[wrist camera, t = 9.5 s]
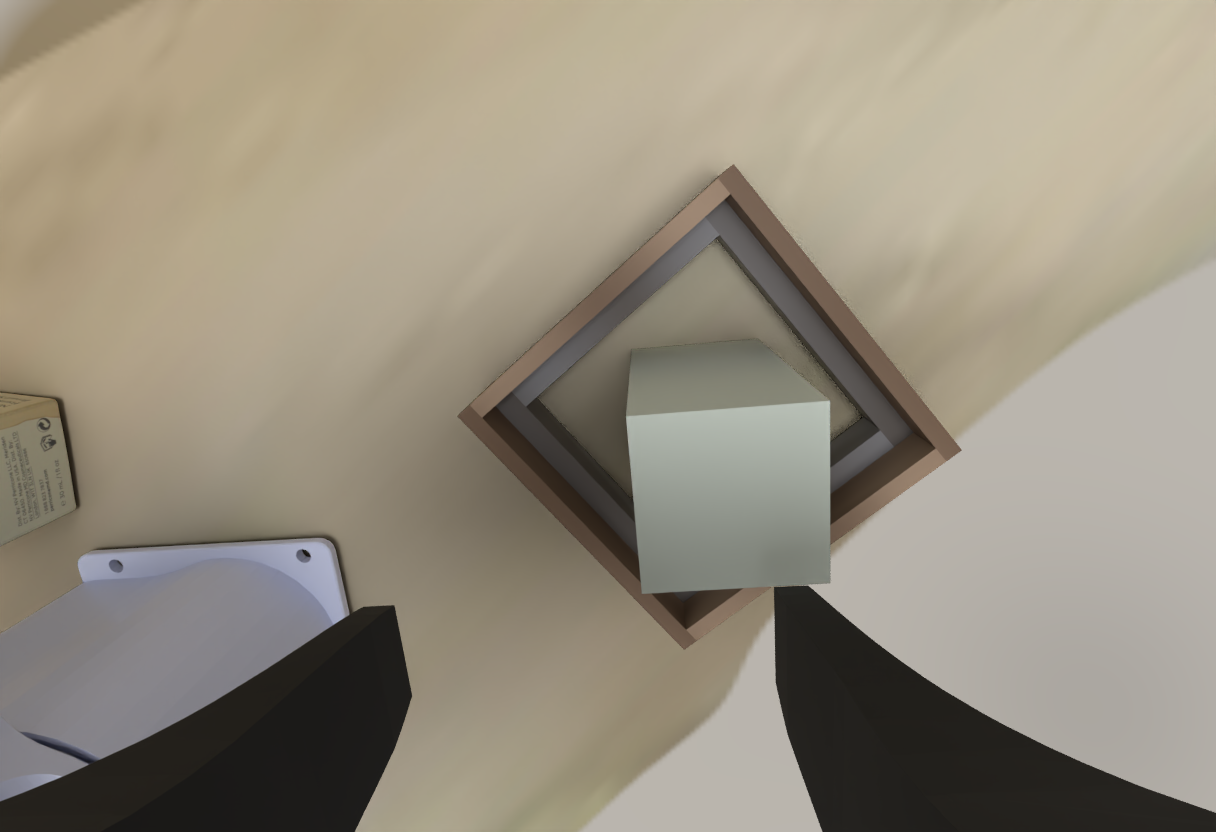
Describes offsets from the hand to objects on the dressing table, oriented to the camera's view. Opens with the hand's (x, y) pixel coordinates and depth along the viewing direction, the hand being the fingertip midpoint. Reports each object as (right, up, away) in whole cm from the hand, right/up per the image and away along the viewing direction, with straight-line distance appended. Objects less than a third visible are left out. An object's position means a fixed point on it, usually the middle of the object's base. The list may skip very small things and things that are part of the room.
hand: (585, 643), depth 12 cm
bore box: (+3, +5, +9) cm, 10 cm away
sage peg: (+3, +5, +9) cm, 10 cm away
